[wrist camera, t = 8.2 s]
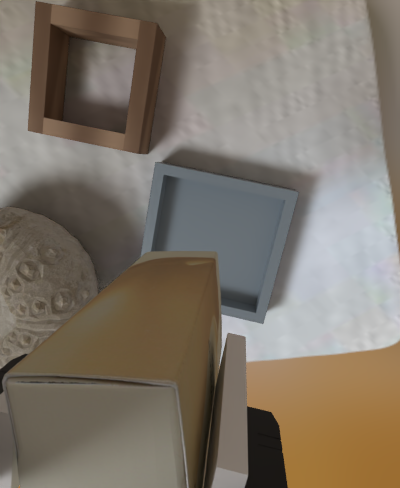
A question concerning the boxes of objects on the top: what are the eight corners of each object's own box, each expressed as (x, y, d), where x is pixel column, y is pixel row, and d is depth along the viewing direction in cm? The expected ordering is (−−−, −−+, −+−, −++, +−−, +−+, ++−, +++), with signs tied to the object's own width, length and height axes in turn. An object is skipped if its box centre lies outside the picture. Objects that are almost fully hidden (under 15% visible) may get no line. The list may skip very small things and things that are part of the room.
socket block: (47, 133, 36) (27, 130, 33) (56, 17, 33) (35, 1, 30) (148, 154, 36) (138, 153, 32) (165, 37, 33) (157, 23, 29)
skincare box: (223, 348, 20) (198, 608, 9) (152, 347, 21) (37, 590, 9) (219, 244, 19) (182, 385, 7) (142, 245, 19) (-10, 379, 8)
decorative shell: (-51, 217, 40) (-143, 236, 30) (90, 188, 37) (37, 199, 28) (-1, 353, 44) (-69, 408, 34) (130, 336, 41) (96, 390, 31)
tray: (141, 285, 39) (134, 293, 37) (161, 161, 36) (155, 162, 33) (261, 313, 38) (263, 323, 36) (294, 189, 35) (298, 192, 32)
